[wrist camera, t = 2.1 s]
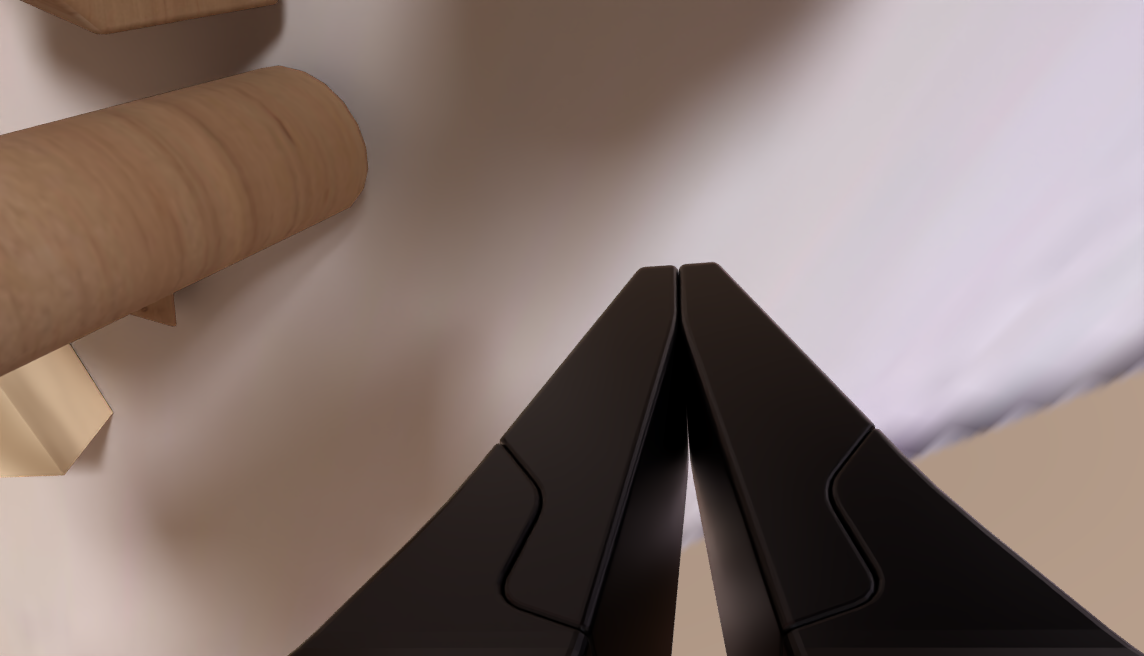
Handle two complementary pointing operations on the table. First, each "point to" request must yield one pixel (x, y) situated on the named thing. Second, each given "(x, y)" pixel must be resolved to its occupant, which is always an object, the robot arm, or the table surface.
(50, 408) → the maple stop rail
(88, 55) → the table surface
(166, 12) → the wooden block set
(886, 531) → the robot arm
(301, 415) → the table surface
